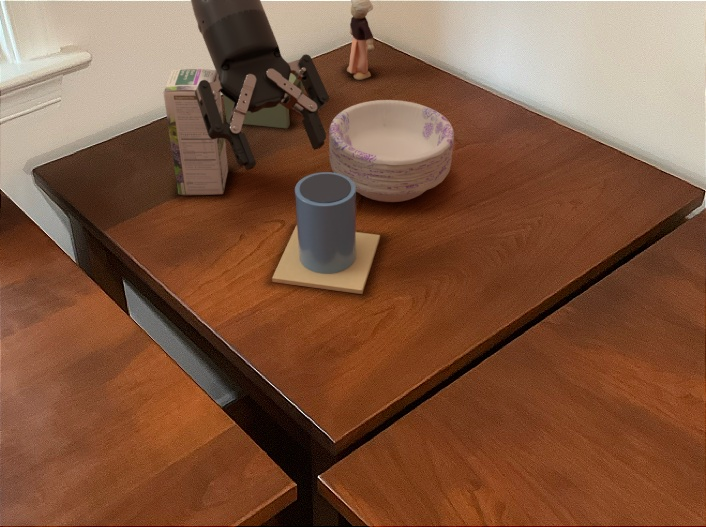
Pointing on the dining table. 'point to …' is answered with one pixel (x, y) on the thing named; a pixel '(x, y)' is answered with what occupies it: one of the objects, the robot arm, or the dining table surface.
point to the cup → (326, 222)
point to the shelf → (266, 111)
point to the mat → (344, 281)
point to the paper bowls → (391, 148)
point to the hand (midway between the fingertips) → (286, 157)
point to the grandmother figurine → (360, 39)
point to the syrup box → (194, 135)
